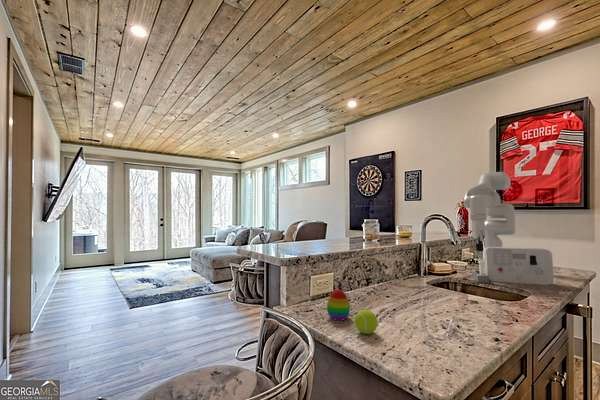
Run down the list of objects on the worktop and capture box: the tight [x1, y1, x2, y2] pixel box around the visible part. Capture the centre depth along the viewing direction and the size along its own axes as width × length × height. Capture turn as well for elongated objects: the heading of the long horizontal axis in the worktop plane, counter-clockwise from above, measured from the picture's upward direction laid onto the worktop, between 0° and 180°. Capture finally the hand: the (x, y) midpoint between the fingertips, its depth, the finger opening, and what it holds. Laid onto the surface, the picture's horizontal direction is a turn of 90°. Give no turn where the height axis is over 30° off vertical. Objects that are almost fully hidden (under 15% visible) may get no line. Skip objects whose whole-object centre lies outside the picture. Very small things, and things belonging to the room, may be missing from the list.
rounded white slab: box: [483, 246, 554, 286], centre depth 151 cm, size 29×8×18 cm, turn 69°
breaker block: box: [471, 269, 490, 284], centre depth 158 cm, size 15×5×4 cm, turn 160°
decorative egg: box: [326, 288, 351, 321], centre depth 103 cm, size 8×8×10 cm
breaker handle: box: [477, 260, 485, 276], centre depth 153 cm, size 3×2×9 cm
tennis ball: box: [354, 309, 378, 335], centre depth 90 cm, size 7×7×7 cm
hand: (479, 250), depth 157 cm, fingers closed
